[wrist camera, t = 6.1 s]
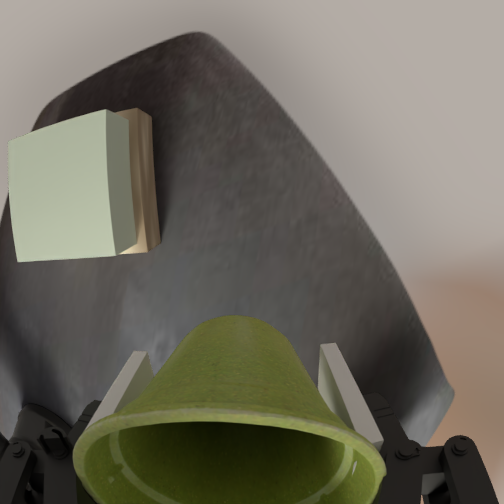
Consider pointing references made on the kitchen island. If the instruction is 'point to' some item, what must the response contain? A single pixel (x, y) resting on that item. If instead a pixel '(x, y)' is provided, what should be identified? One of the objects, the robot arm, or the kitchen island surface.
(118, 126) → the upper block
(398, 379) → the kitchen island surface
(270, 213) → the kitchen island surface
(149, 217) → the lower block
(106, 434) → the plant pot
